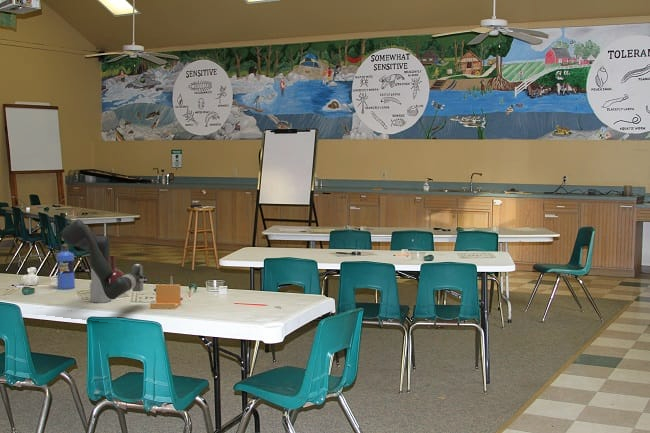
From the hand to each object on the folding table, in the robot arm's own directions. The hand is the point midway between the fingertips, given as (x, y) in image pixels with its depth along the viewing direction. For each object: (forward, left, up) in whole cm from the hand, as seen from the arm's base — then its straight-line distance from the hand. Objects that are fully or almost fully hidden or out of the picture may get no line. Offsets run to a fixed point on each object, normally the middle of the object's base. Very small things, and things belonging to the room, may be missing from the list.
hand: (139, 276), depth 400 cm
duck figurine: (-82, +56, -15) cm, 100 cm away
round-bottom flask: (-25, +32, -15) cm, 43 cm away
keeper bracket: (+14, -4, -14) cm, 20 cm away
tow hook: (+13, +15, -15) cm, 25 cm away
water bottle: (-57, +46, -15) cm, 75 cm away
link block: (0, -3, -7) cm, 7 cm away
